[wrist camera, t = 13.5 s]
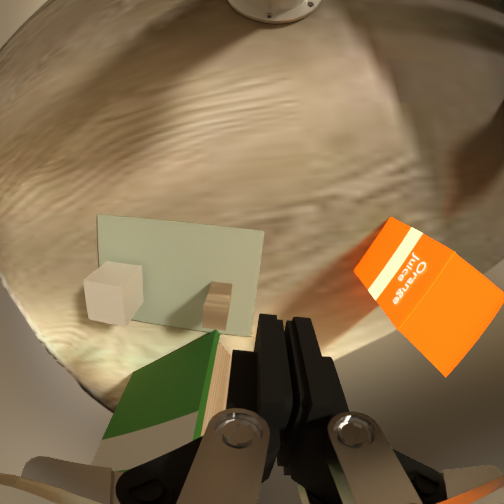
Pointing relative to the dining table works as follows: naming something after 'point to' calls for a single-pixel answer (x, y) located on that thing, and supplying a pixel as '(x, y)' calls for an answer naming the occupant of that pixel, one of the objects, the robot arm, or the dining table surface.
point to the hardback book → (167, 404)
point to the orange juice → (428, 293)
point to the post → (217, 306)
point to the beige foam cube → (114, 293)
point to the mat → (185, 267)
